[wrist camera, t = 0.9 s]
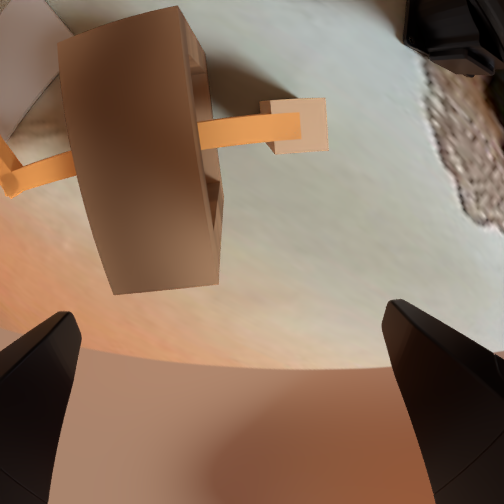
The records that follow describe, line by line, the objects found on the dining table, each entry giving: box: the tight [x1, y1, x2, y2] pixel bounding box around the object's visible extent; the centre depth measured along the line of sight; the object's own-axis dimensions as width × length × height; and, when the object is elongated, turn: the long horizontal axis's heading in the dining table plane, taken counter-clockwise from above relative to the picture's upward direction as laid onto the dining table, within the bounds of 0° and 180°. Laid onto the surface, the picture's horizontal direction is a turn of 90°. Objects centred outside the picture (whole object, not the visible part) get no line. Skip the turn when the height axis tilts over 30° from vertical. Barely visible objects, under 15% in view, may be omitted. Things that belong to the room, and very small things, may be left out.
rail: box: [0, 98, 329, 199], centre depth 13 cm, size 13×28×6 cm, turn 81°
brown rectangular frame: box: [57, 6, 224, 295], centre depth 13 cm, size 4×9×10 cm, turn 6°
